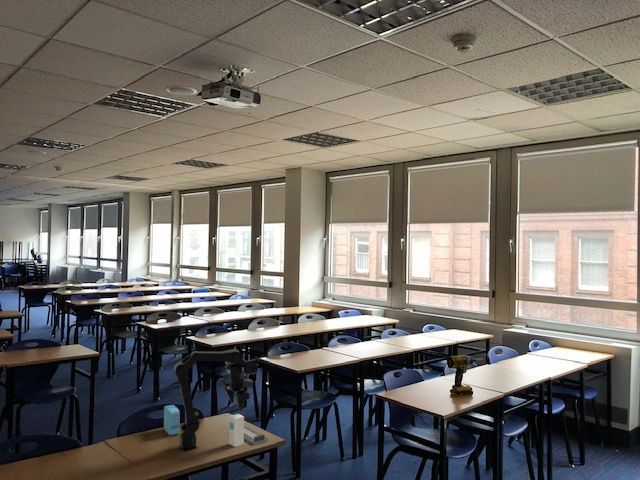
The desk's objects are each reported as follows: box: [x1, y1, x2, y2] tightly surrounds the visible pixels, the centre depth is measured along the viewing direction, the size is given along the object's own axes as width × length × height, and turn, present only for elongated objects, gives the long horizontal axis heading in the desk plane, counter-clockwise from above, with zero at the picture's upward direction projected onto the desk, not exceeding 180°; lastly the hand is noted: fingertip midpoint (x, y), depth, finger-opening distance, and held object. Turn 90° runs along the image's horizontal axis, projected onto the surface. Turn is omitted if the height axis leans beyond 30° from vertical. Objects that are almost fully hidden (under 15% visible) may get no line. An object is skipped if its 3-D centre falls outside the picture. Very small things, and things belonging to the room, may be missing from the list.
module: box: [228, 413, 245, 448], centre depth 233 cm, size 5×5×13 cm
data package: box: [163, 404, 181, 436], centre depth 248 cm, size 12×4×12 cm, turn 32°
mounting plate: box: [244, 425, 269, 446], centre depth 243 cm, size 8×22×3 cm, turn 39°
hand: (236, 406), depth 240 cm, fingers open, 9 cm apart
